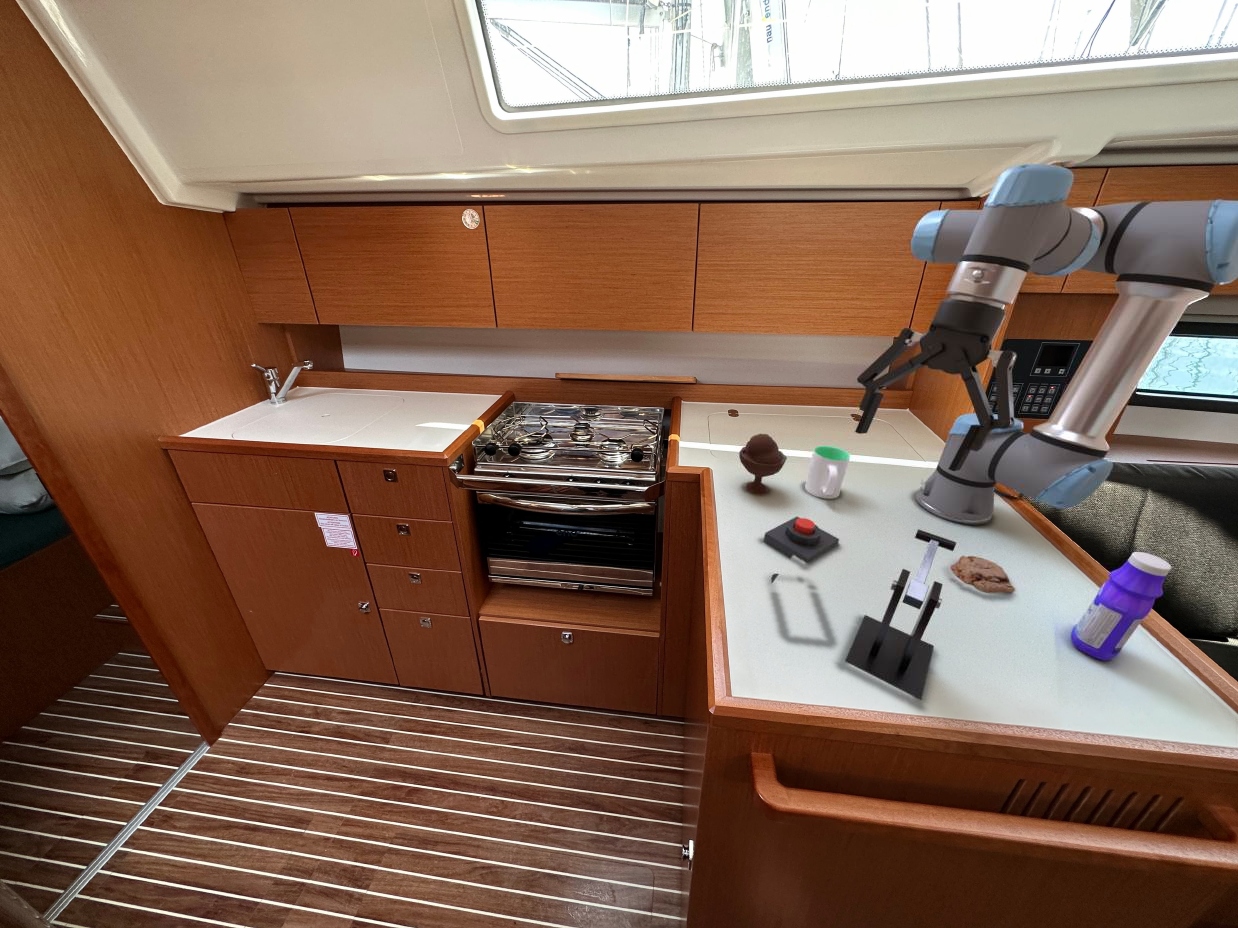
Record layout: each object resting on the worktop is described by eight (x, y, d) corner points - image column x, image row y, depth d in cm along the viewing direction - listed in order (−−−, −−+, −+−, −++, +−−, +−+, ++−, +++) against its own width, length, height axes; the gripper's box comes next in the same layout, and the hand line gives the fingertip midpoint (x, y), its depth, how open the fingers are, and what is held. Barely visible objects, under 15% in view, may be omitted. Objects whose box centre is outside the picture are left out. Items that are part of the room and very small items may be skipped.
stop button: (801, 523, 97) (802, 516, 97) (816, 531, 95) (818, 524, 94) (790, 528, 95) (792, 521, 95) (806, 537, 93) (808, 530, 92)
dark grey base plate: (794, 524, 103) (798, 509, 101) (836, 547, 96) (841, 531, 94) (763, 541, 97) (766, 525, 95) (805, 567, 90) (810, 550, 88)
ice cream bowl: (781, 502, 111) (794, 445, 104) (733, 496, 113) (743, 439, 106) (777, 481, 121) (789, 427, 114) (733, 476, 122) (742, 422, 116)
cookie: (1002, 571, 91) (1009, 558, 90) (1017, 606, 83) (1024, 593, 81) (943, 556, 95) (949, 544, 94) (952, 588, 86) (958, 575, 85)
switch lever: (915, 534, 73) (919, 525, 71) (953, 547, 70) (958, 538, 68) (891, 597, 67) (894, 589, 66) (931, 614, 65) (935, 606, 63)
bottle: (1073, 624, 79) (1128, 541, 71) (1119, 646, 75) (1182, 560, 67) (1063, 645, 75) (1120, 559, 67) (1110, 669, 71) (1177, 581, 63)
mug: (846, 509, 110) (858, 470, 105) (810, 504, 111) (820, 465, 106) (835, 484, 120) (845, 447, 116) (802, 480, 122) (811, 444, 117)
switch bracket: (862, 620, 79) (889, 549, 72) (931, 651, 73) (966, 577, 66) (842, 666, 70) (870, 590, 63) (918, 705, 65) (957, 627, 58)
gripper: (871, 283, 68) (817, 420, 76) (1093, 319, 51) (993, 491, 59) (891, 290, 73) (838, 419, 81) (1101, 326, 56) (1008, 484, 64)
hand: (904, 450), depth 70 cm, fingers open, 13 cm apart
